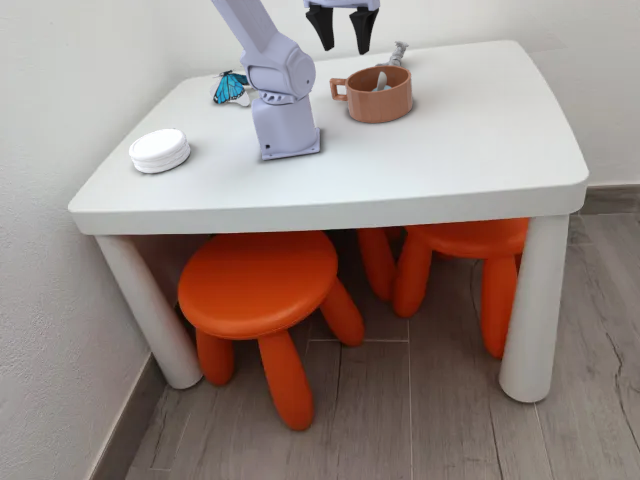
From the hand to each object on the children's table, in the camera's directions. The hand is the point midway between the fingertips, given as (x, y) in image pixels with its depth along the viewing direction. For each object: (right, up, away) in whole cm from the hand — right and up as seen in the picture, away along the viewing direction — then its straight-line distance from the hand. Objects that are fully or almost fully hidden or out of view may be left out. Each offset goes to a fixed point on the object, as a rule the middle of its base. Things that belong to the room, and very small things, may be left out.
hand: (346, 50), depth 89 cm
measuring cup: (+4, -9, +3) cm, 11 cm away
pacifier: (+6, -10, +2) cm, 11 cm away
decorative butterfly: (-23, -1, +16) cm, 27 cm away
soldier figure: (+10, +1, +14) cm, 17 cm away
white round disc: (-32, -19, +1) cm, 38 cm away
